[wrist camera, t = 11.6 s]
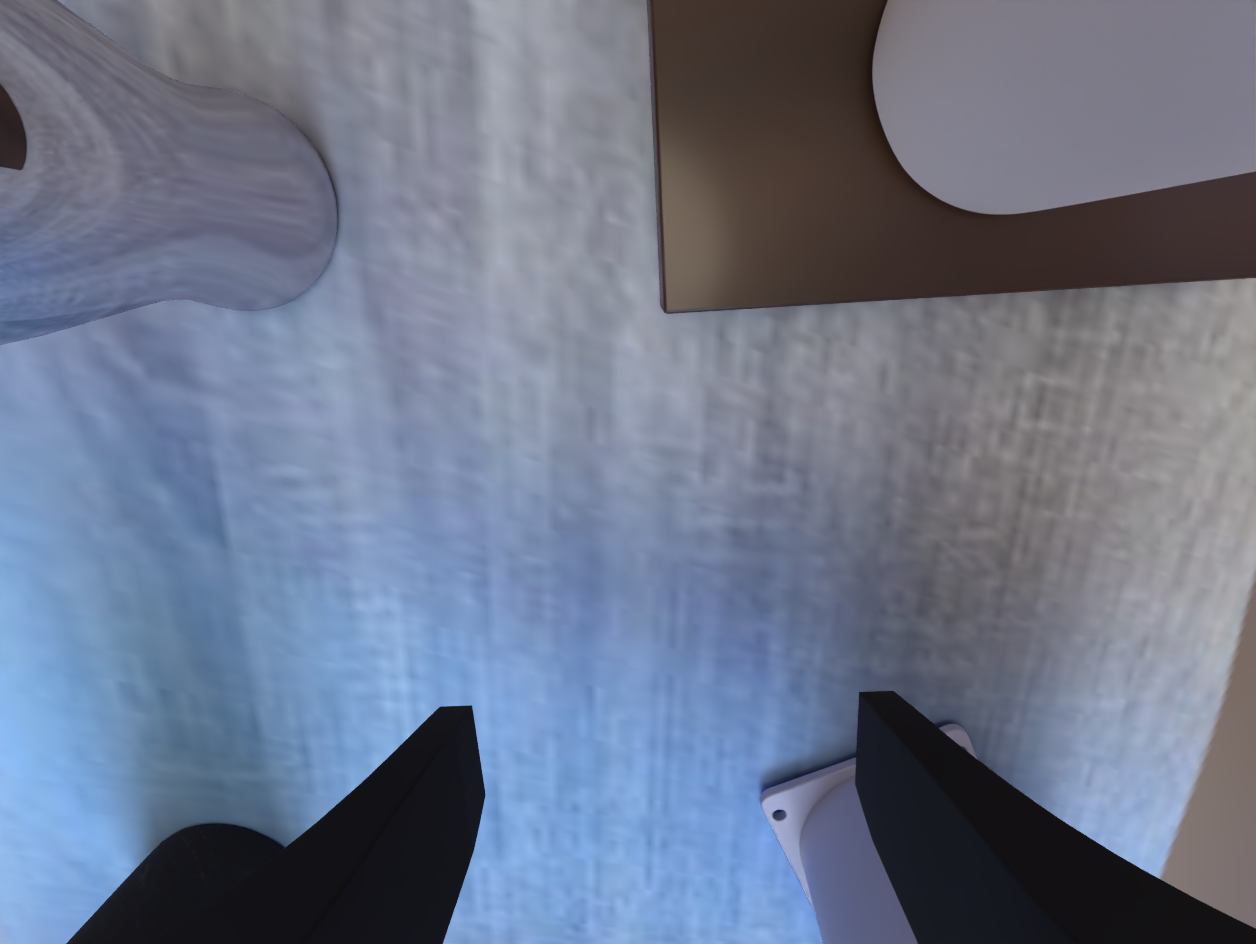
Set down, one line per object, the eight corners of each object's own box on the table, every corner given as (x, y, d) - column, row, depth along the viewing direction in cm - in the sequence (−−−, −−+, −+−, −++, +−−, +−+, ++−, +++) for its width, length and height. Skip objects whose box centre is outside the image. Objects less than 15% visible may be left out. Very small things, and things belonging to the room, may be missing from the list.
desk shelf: (1198, 275, 19) (1385, 272, 14) (660, 308, 20) (664, 315, 15) (1273, -137, 16) (1537, -314, 11) (643, -81, 17) (641, -225, 12)
